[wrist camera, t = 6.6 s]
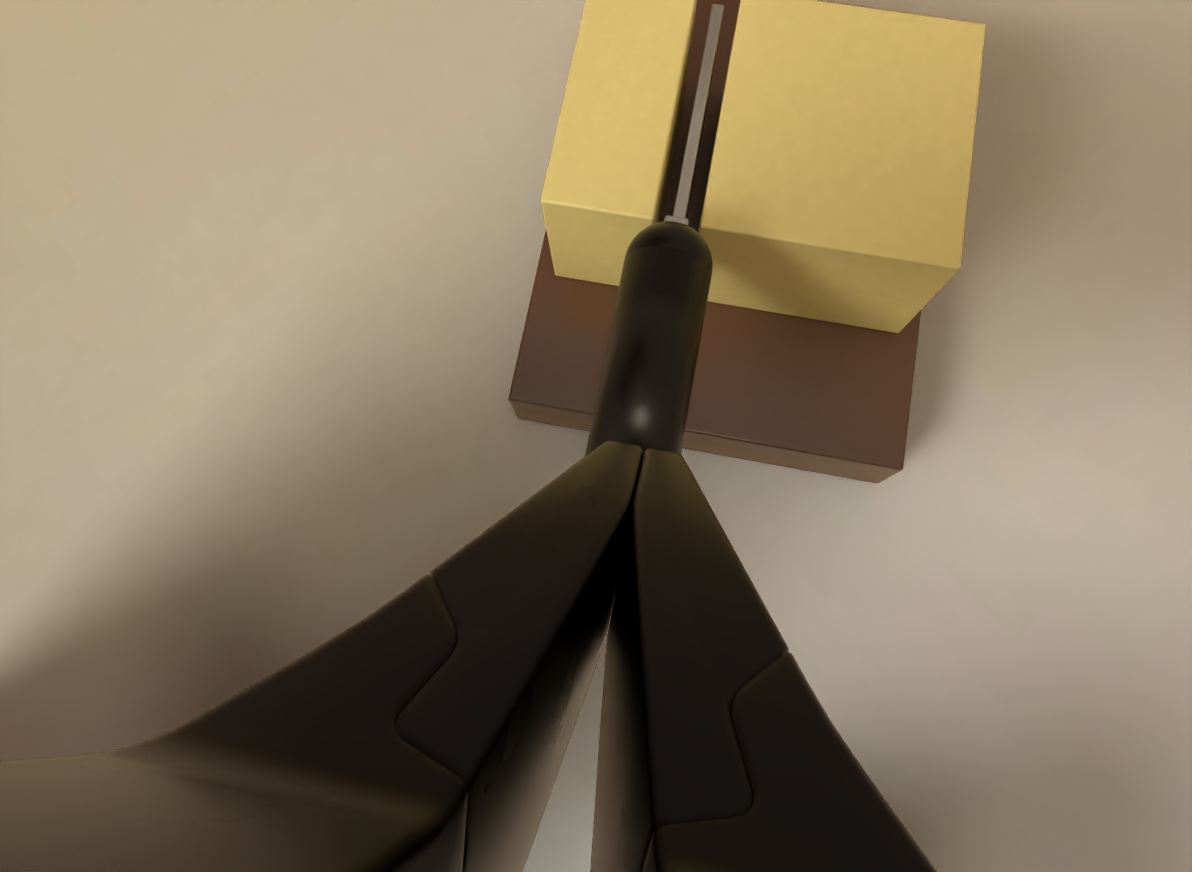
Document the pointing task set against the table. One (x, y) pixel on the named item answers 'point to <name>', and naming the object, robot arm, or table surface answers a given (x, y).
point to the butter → (777, 153)
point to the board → (731, 350)
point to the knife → (660, 309)
